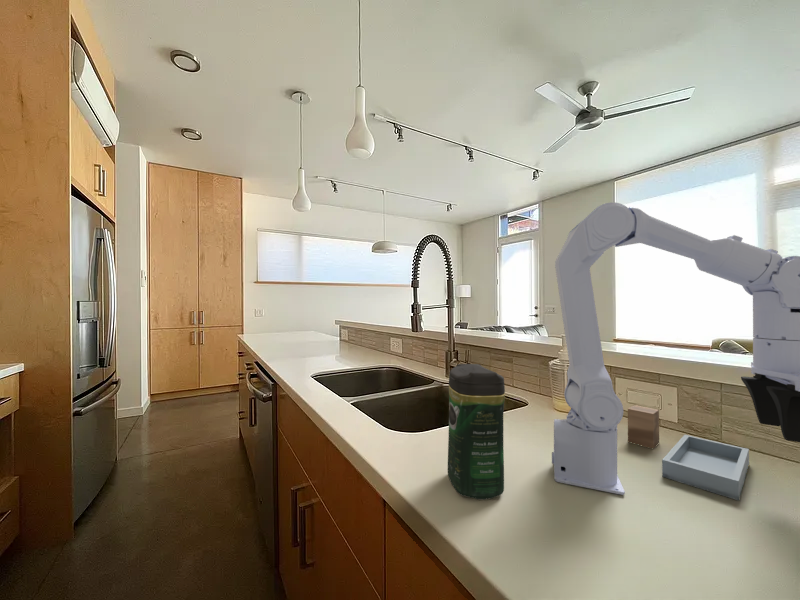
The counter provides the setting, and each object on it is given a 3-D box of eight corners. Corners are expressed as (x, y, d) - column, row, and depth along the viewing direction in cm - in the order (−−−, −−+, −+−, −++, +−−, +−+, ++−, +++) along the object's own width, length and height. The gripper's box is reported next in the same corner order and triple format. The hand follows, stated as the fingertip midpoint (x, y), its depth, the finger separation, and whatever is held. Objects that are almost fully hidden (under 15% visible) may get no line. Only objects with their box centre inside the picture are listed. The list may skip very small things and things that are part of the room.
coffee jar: (512, 501, 48) (513, 371, 48) (458, 503, 47) (459, 371, 48) (488, 469, 58) (489, 360, 58) (442, 470, 57) (444, 360, 57)
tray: (738, 500, 49) (738, 481, 49) (662, 476, 56) (662, 459, 56) (749, 464, 61) (748, 449, 61) (684, 448, 68) (684, 434, 68)
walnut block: (653, 449, 67) (653, 413, 67) (627, 442, 71) (627, 408, 71) (659, 443, 70) (659, 409, 70) (634, 437, 73) (634, 405, 74)
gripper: (857, 345, 41) (859, 457, 41) (793, 337, 54) (794, 422, 53) (775, 341, 45) (776, 445, 44) (734, 335, 57) (734, 415, 57)
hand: (781, 432), depth 49 cm, fingers open, 7 cm apart
